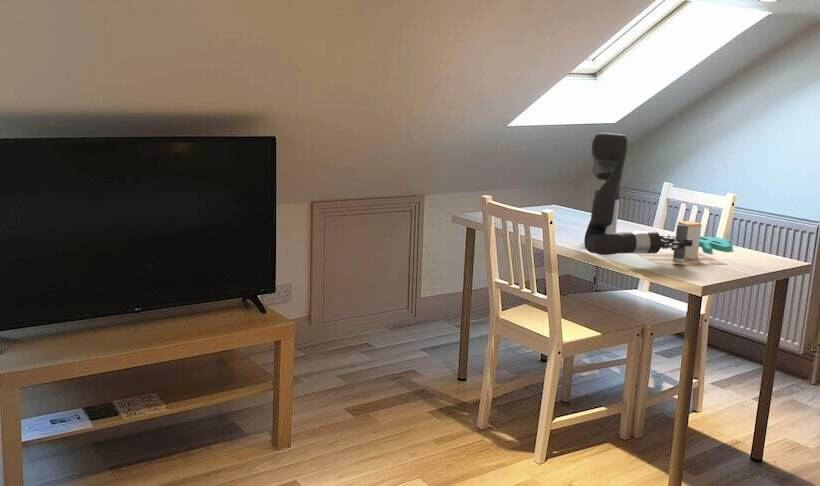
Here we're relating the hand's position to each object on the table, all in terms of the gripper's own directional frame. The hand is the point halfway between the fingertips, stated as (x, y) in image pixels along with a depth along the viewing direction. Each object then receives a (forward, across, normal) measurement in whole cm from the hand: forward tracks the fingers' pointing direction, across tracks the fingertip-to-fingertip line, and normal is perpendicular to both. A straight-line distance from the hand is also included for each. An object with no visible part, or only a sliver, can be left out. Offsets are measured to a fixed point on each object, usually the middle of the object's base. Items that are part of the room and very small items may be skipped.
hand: (687, 241), depth 277 cm
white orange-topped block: (+8, +11, +8) cm, 16 cm away
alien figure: (+30, +31, +10) cm, 44 cm away
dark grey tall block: (-3, 0, +7) cm, 8 cm away
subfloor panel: (+3, +6, +9) cm, 11 cm away
